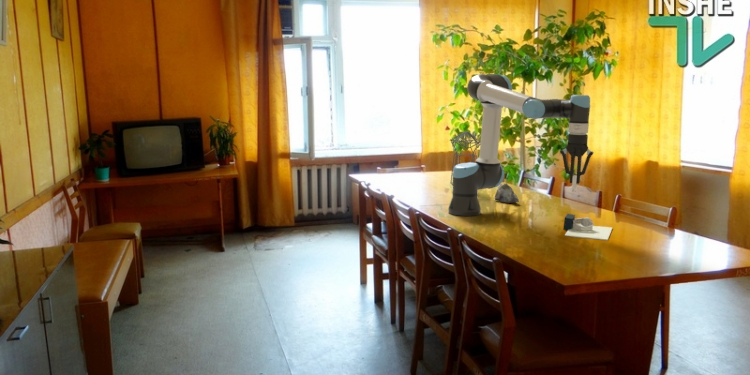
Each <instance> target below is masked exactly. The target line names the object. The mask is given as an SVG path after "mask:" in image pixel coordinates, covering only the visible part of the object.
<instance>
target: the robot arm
mask: <svg viewBox="0 0 750 375" xmlns="http://www.w3.org/2000/svg"><path fill="white" fill-rule="evenodd" d="M466 87H467V88H466V89H467V90H466V91H467V93H468V95H469V96H470V98H472V99H473V100H476V101H479V102H480V104H481V105H482V107H483V109H482V121H481V133H480V142H481V143H479V144H480V146H479V156H478V157H477V159H476V158H475V162H473V163H472V162H470V163H469V162H462V163H461V162H460V164H459V163H457V165H456V166H455V165H454V166H453V174H452V183H453V186H452V196H451V200H450V202H449V206H448V214H451V215H453V216H461V217H473V216H478V215H481V213H482V212H481V211H482V208H481V205H480V201H479V198H478V190H485V189H486V190H487V189H493V188H496V187H497V188H498V187H499V186H500V184H502V183H503V182H504V178H505V170H504V168H503V166H502V165H501V160H500V159H499V158H498V156H499V155H498V154H499V147H500V146H499V144H500V134H501V121H502V112H503V107H504V108H506V109H508V110H509V109H510V110H512V111H515V112H517V113H521V114H523V115H524V117H525V118H528V119H533V120H538V119H555V118H556V119H559V118H560V119H569V120H568V130H567V131H568V132H567V133H568V134H567V144H566V146H565V148H564V149H561V150H560V151H559V152H560V154H561V156H562V160H563V161H562V162H563V165H564V171H565V174H567V175H569V183H570V184H571V193H572V192H573V193H575V192H577V189H578V188H577V187H578V185H579V184H580V182H581V176H583V175H585V174H586V172H587V170H588V169H587V168H588V166H589V163H590V160H591V157H592V156H593V155H594V151H592V150H590V149H589V147H588V138H589V136H588V133H589V126H590V125H589V124H590V122H589V121H590V120H589V119H590V112H591V97H590V95H587V94H583V95H582V94H572V95H570V99H562V98H561V99H560V98H559V99H558V98H552V99H551V98H549V99H540V98H536V97H534V96H531V95H528V94H525V93H523V92H522V93H521V92H518V91H515V90H513V85H512V82H511V80H510V79H509V78H508V77H507V76H506V75H504V74H494V73H493V74H485V73H480V74H476V75H474V76H473V77H471V78H470V79H469V80H468V83H467V86H466ZM567 153H568V155H570V165H569V162H568V157H567ZM585 154H586V155H587V156H586V158H585V161H584V164H583V167H582V161H583V160H582V159H583V158H582V157H583V156H584V155H585ZM576 158H577V164H576V174H575V163H576ZM569 166H570V167H569Z"/></svg>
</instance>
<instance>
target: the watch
mask: <svg viewBox="0 0 750 375" xmlns="http://www.w3.org/2000/svg"><path fill="white" fill-rule="evenodd" d="M578 224H579V225H578ZM581 225H582V226H583V227H582V226H581ZM593 226H594V222H593V220H592V218H590V217H589V216H587V217H580V218H579V217H578V218H576V214H572V213H566V215H565V216H564V220H563V227H562V228H563V230H565V231H568V230H569V229H572V228H574V229H576V230H578V231H583V232H589V231H591V230H592V229H593Z"/></svg>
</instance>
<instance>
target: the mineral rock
mask: <svg viewBox="0 0 750 375" xmlns="http://www.w3.org/2000/svg"><path fill="white" fill-rule="evenodd" d="M494 201H496V202H502V203H507V204H511V203H513V204H515V203H520V200H519V198H518V195H517V194H516V193H515V192H514V190H513V187H512V186H510V185H509V184H508V183H503V184H502V183H501V184H500V185H499V186H497V189H496V192H495V195H494Z"/></svg>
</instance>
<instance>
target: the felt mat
mask: <svg viewBox="0 0 750 375" xmlns="http://www.w3.org/2000/svg"><path fill="white" fill-rule="evenodd" d="M578 225H581V224H580V223H579V224H578ZM581 226H582V225H581ZM582 227H583V226H582ZM612 231H613V227H610V226H598V225H593V229H592V230H591V231H589V232H583V231H578V230H576V229H574V228H572V229H569V230H566V232H565V234H564V237H571V238H579V239H581V238H583V239H589V240H598V241H599V240H601V241H609V239H610V238H609V237H610V236H611V232H612Z"/></svg>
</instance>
